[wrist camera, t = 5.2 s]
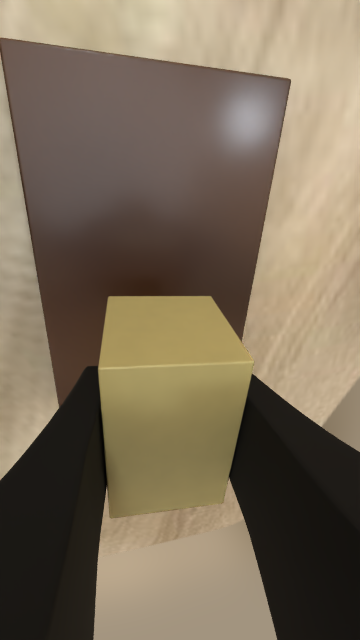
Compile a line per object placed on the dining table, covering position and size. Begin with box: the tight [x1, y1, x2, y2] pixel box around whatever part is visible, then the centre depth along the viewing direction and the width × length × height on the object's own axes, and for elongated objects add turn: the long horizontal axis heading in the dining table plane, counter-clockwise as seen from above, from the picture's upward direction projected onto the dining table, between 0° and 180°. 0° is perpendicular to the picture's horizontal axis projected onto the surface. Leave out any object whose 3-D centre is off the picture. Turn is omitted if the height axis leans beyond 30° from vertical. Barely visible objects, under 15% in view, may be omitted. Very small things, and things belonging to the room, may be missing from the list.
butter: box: [98, 296, 254, 518], centre depth 8 cm, size 5×3×4 cm, turn 177°
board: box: [0, 38, 291, 408], centre depth 12 cm, size 14×9×1 cm, turn 177°
